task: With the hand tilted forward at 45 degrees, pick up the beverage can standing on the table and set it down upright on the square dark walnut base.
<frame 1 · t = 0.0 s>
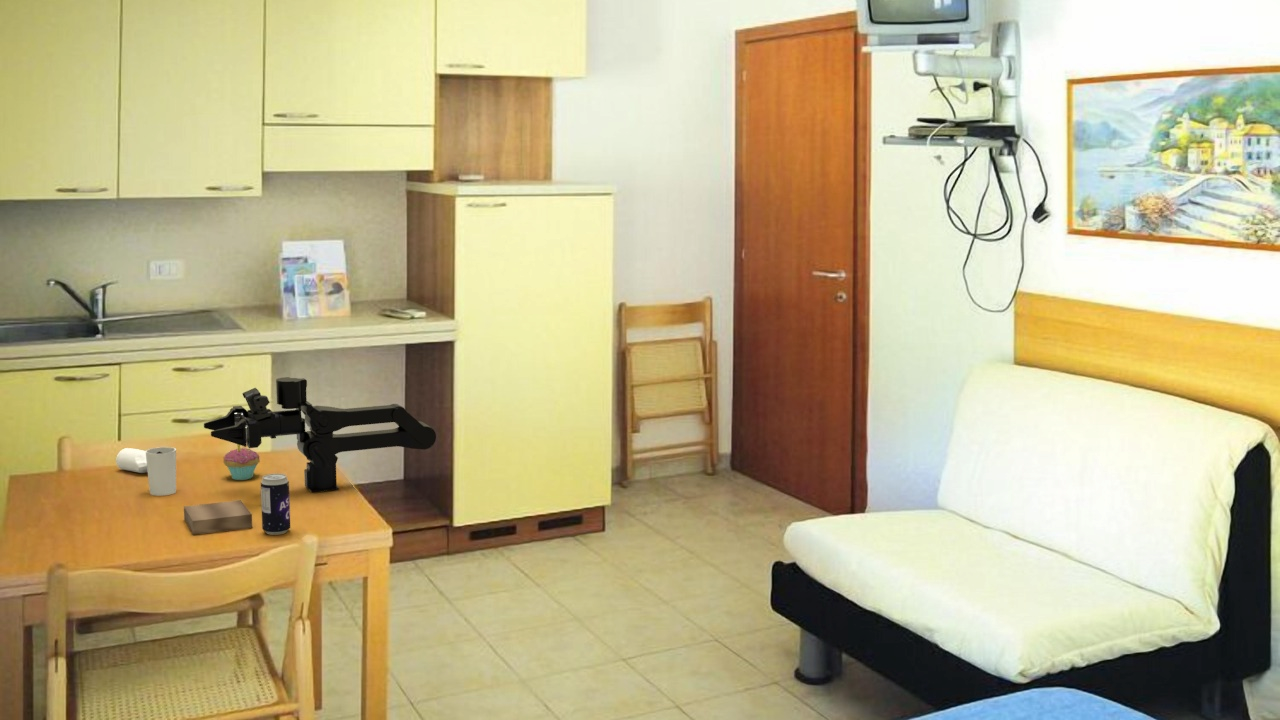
hand: (207, 429, 298), 17 cm above the table, tool horizontal, fingers open, 9 cm apart
cupcake: (242, 478, 321), on the table
grey cylinder: (163, 493, 307), on the table
walnut base: (218, 523, 283), on the table
roll: (142, 473, 325), on the table
beverage can: (276, 532, 278), on the table
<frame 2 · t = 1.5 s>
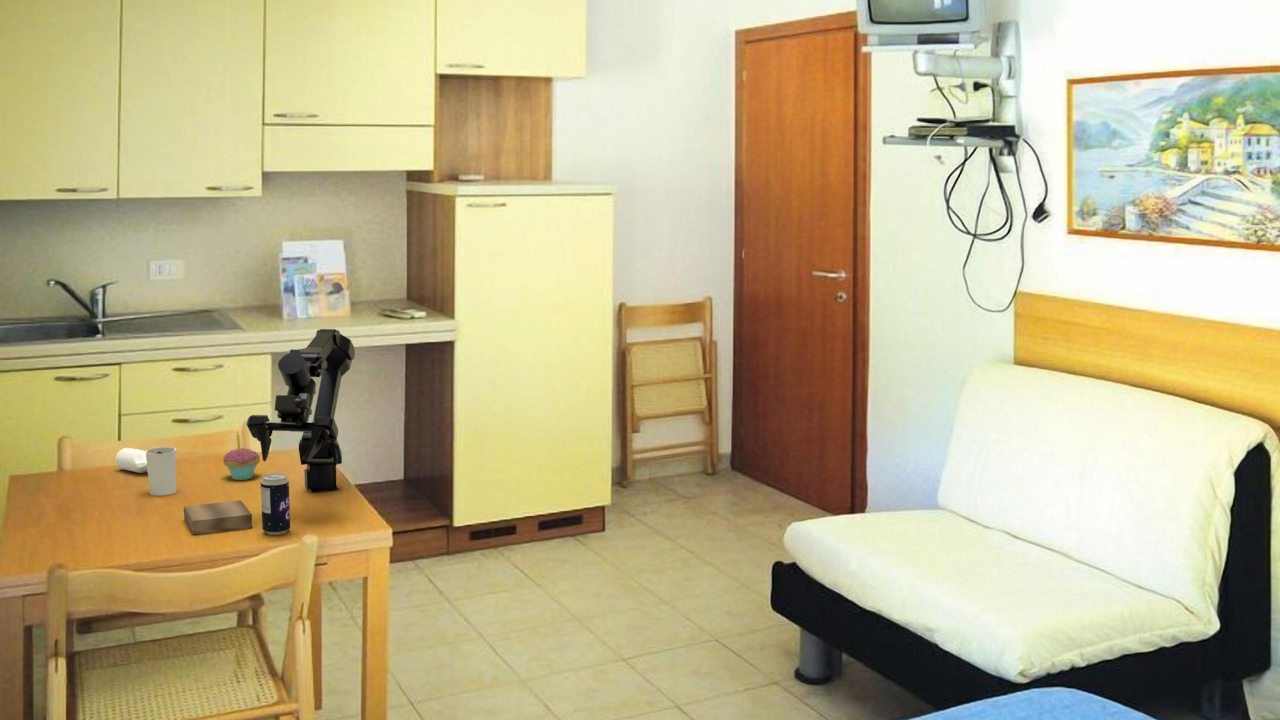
hand: (285, 460, 283), 13 cm above the table, tool tilted 45°, fingers open, 9 cm apart
nothing on the table moved.
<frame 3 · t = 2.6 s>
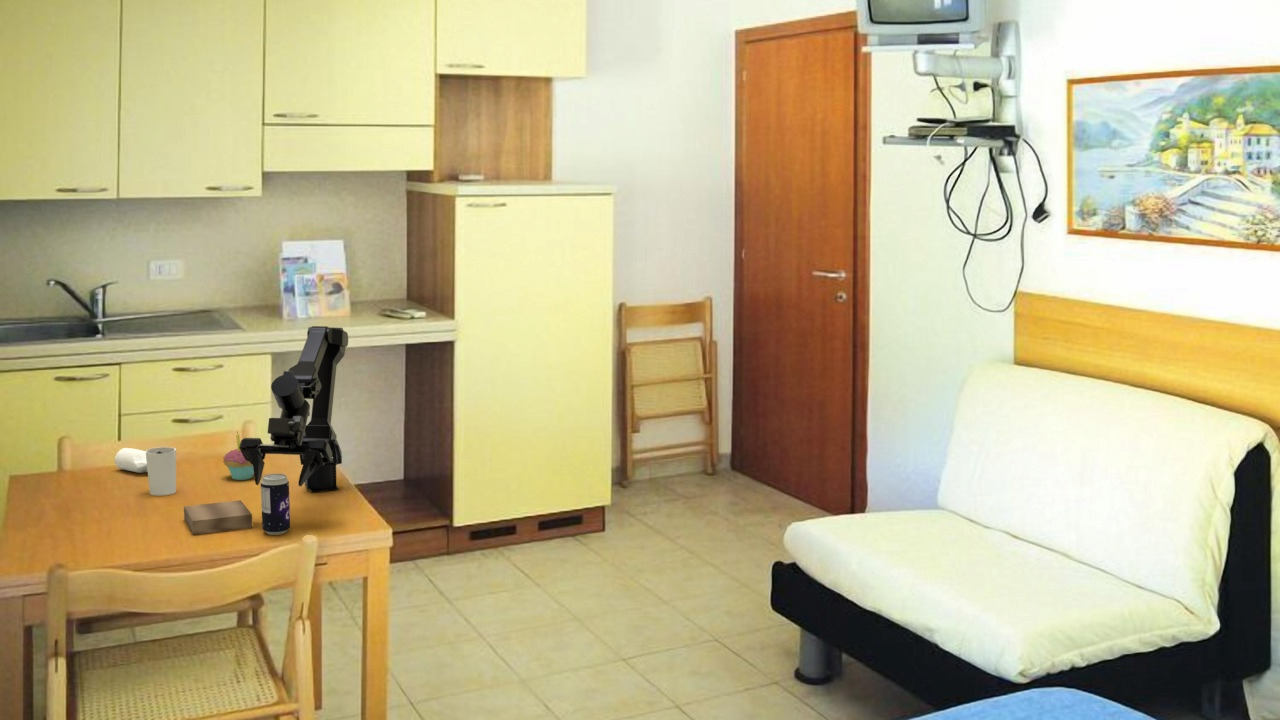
hand: (278, 484, 278), 10 cm above the table, tool tilted 45°, fingers open, 9 cm apart
nothing on the table moved.
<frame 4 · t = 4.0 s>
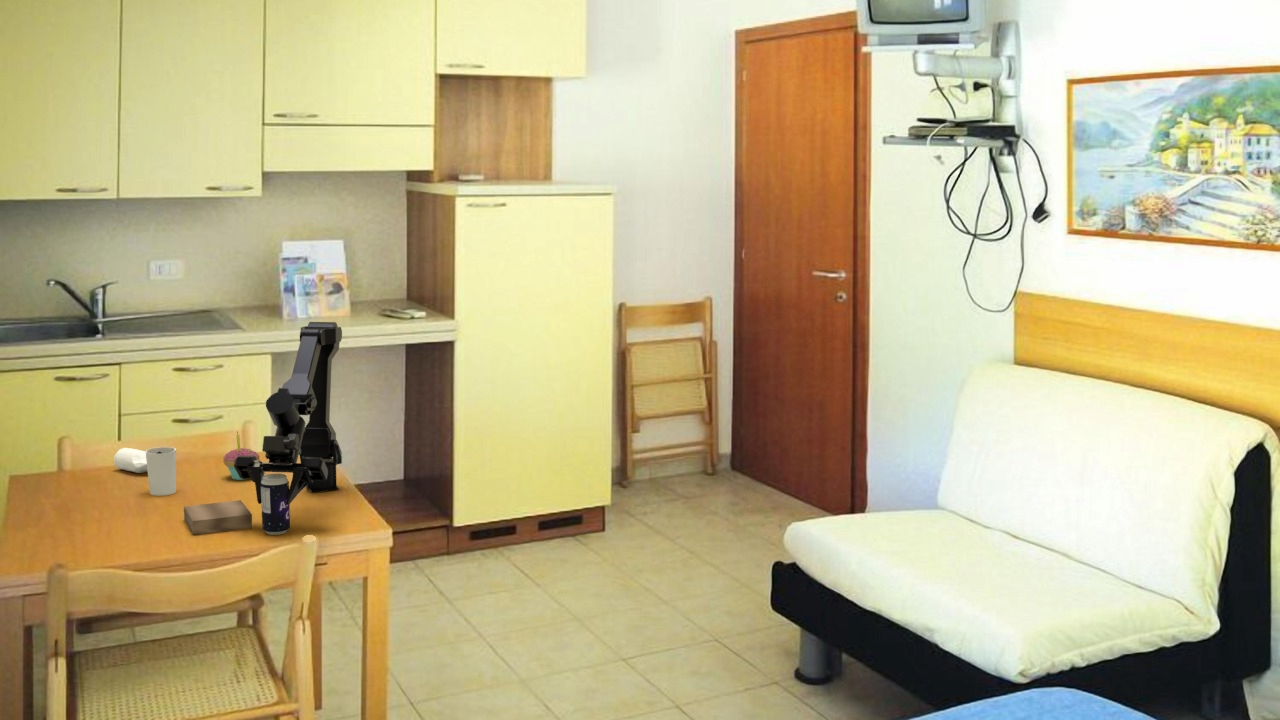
hand: (273, 503, 275), 7 cm above the table, tool tilted 45°, fingers closed on beverage can, 6 cm apart
beverage can: (276, 532, 278), on the table, touching gripper
everything else where it was.
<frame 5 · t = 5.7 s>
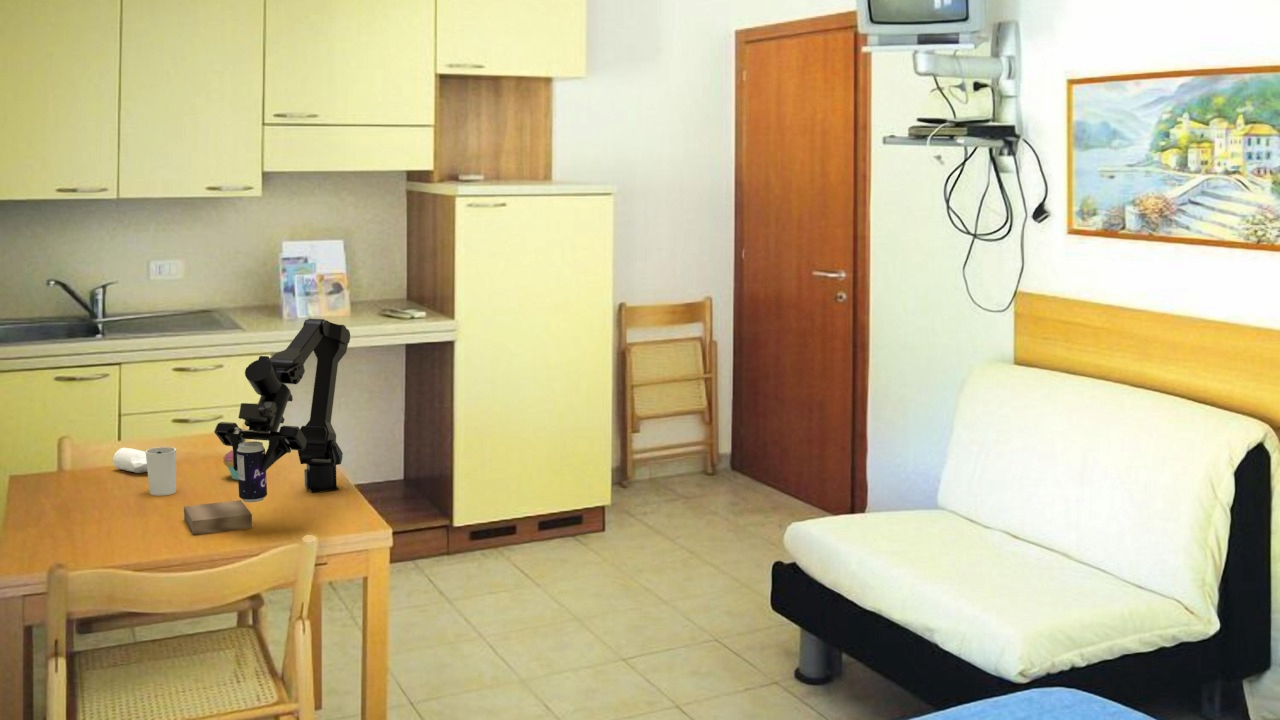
hand: (248, 470, 276), 13 cm above the table, tool tilted 45°, fingers closed on beverage can, 6 cm apart
beverage can: (253, 500, 278), point 6 cm above the table, touching gripper
everything else where it was.
when the fingers open (11 cm above the table, at t = 7.2 s): beverage can drops 1 cm, resting on walnut base.
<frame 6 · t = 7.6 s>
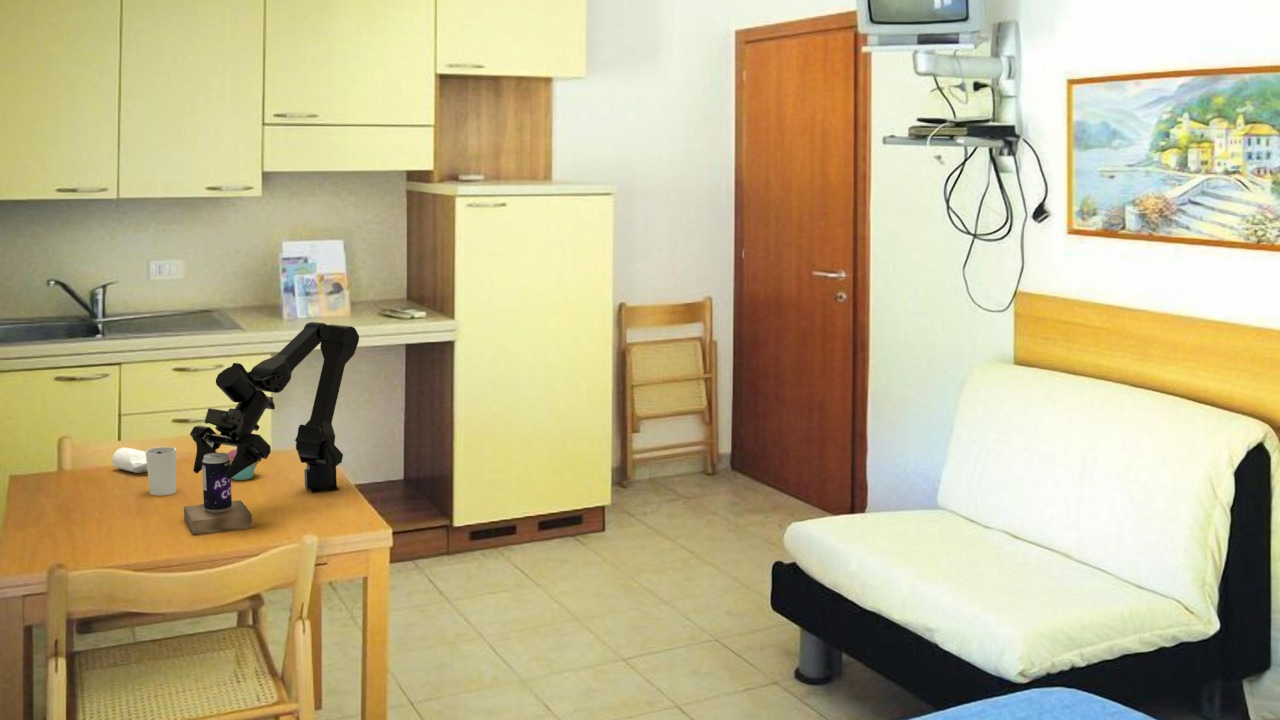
hand: (210, 475, 280), 11 cm above the table, tool tilted 45°, fingers open, 9 cm apart
beverage can: (218, 510, 283), point 3 cm above the table, touching walnut base
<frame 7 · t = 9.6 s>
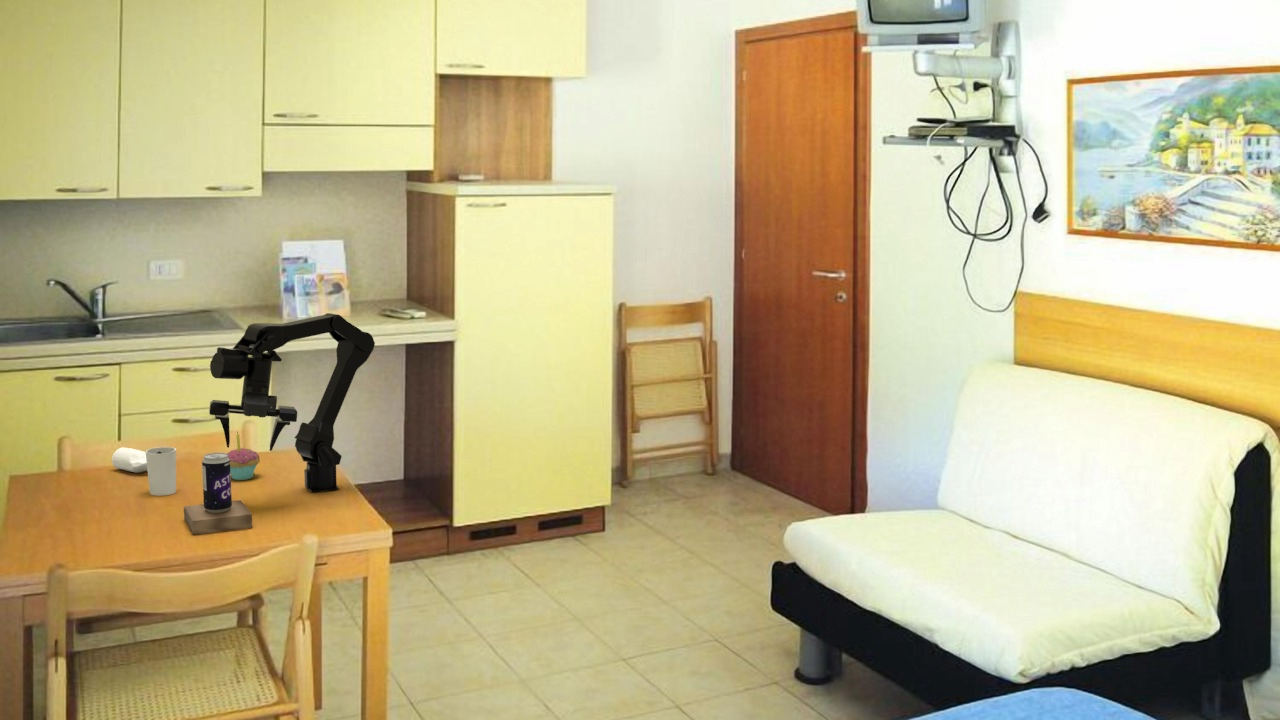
hand: (249, 448, 297), 13 cm above the table, tool pointing down, fingers open, 9 cm apart
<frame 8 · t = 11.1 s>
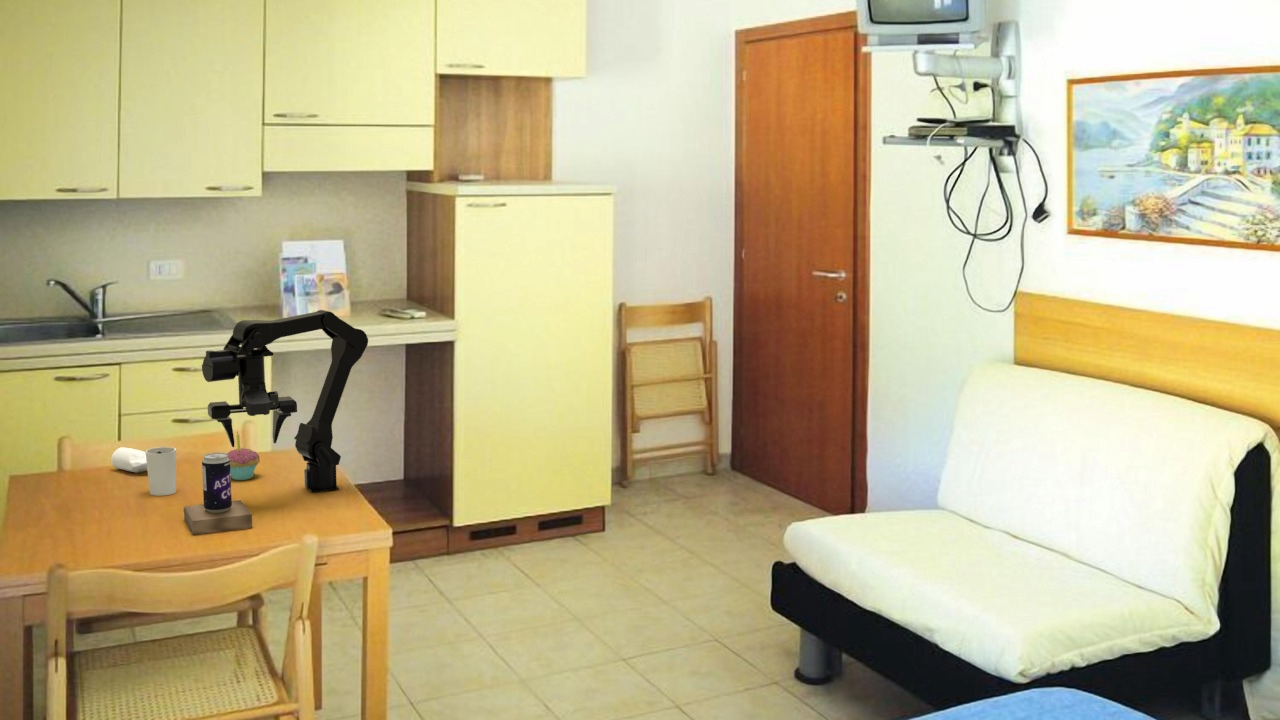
hand: (254, 444, 299), 13 cm above the table, tool pointing down, fingers open, 9 cm apart
at the end: beverage can inside the target area on the walnut base (0.2 cm from its centre), point 2.8 cm above the walnut base's base; beverage can tilted 0°; the gripper is holding nothing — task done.
